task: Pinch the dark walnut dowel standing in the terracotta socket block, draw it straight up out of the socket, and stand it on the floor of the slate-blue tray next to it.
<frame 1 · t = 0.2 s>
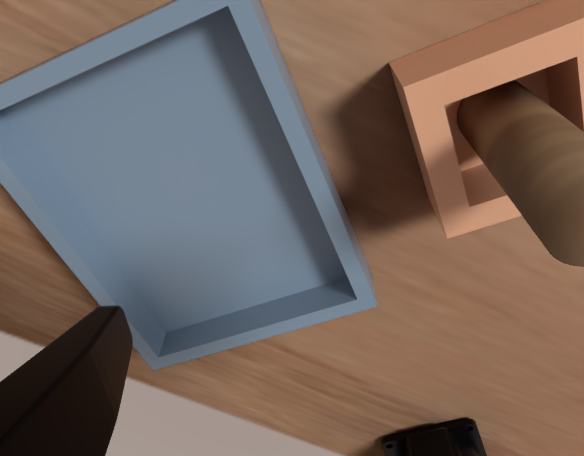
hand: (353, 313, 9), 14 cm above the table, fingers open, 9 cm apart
terracotta socket: (488, 107, 21), on the table
slate tray: (195, 193, 24), on the table
walnut dowel: (492, 111, 21), resting on terracotta socket
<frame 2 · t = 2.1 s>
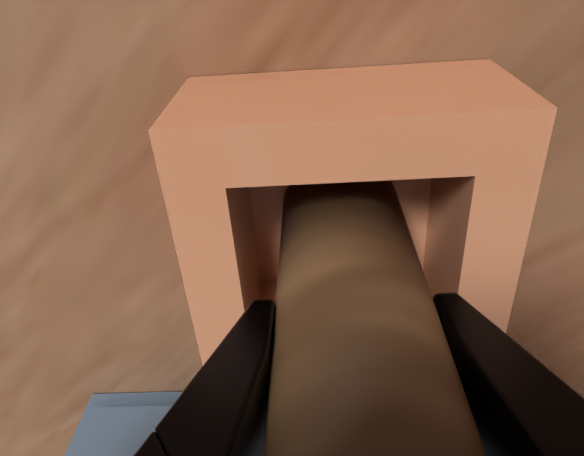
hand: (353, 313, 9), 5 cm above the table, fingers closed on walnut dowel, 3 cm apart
terracotta socket: (338, 200, 13), on the table
walnut dowel: (340, 209, 13), point 1 cm above the table, touching gripper, terracotta socket
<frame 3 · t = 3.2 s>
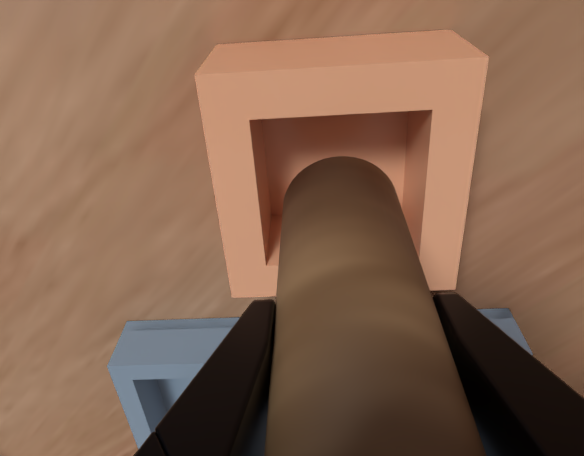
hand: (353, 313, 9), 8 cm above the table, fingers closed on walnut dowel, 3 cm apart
terracotta socket: (334, 146, 16), on the table
slate tray: (319, 414, 24), on the table
walnut dowel: (340, 209, 13), point 4 cm above the table, touching gripper
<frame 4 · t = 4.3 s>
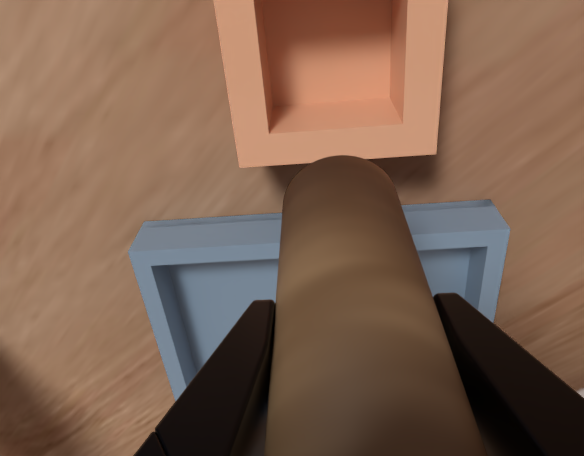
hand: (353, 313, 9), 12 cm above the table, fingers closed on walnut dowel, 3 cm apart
terracotta socket: (327, 38, 18), on the table
slate tray: (320, 316, 26), on the table
walnut dowel: (340, 208, 13), point 8 cm above the table, touching gripper
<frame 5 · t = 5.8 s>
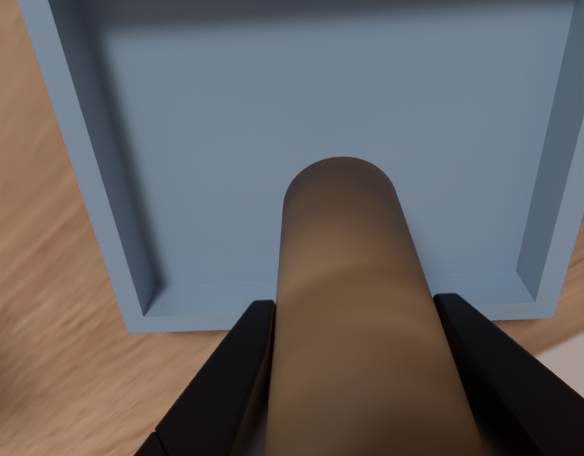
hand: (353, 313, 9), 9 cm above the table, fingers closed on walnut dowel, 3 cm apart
slate tray: (328, 138, 17), on the table
walnut dowel: (340, 209, 13), point 5 cm above the table, touching gripper
when the fingers open (6 cm above the table, at t = 6.7 s): walnut dowel drops 1 cm, resting on slate tray.
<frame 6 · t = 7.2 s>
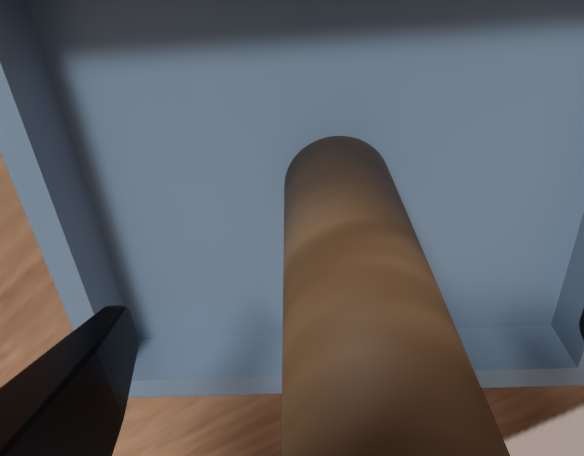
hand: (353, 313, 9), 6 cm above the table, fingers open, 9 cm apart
slate tray: (335, 176, 14), on the table
walnut dowel: (336, 185, 14), point 1 cm above the table, touching slate tray
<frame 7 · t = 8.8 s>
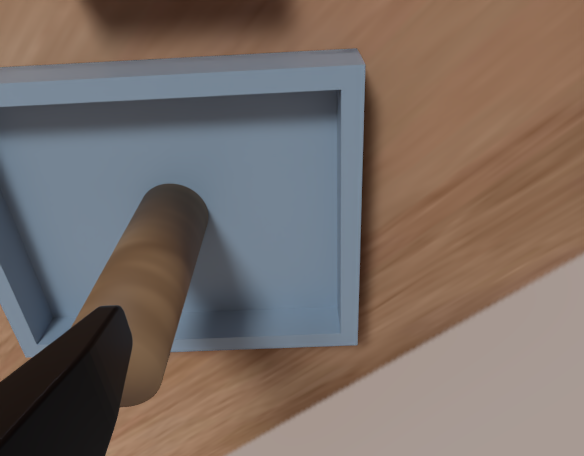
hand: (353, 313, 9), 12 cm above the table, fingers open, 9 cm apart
slate tray: (176, 207, 22), on the table
walnut dowel: (174, 213, 21), point 1 cm above the table, touching slate tray
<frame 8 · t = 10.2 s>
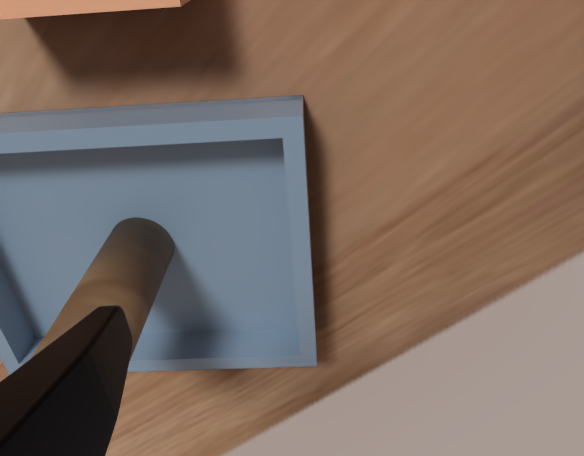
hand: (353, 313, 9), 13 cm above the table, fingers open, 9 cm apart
slate tray: (145, 237, 24), on the table
walnut dowel: (142, 244, 23), point 1 cm above the table, touching slate tray
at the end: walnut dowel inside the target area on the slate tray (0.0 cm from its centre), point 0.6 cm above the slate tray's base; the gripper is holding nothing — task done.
